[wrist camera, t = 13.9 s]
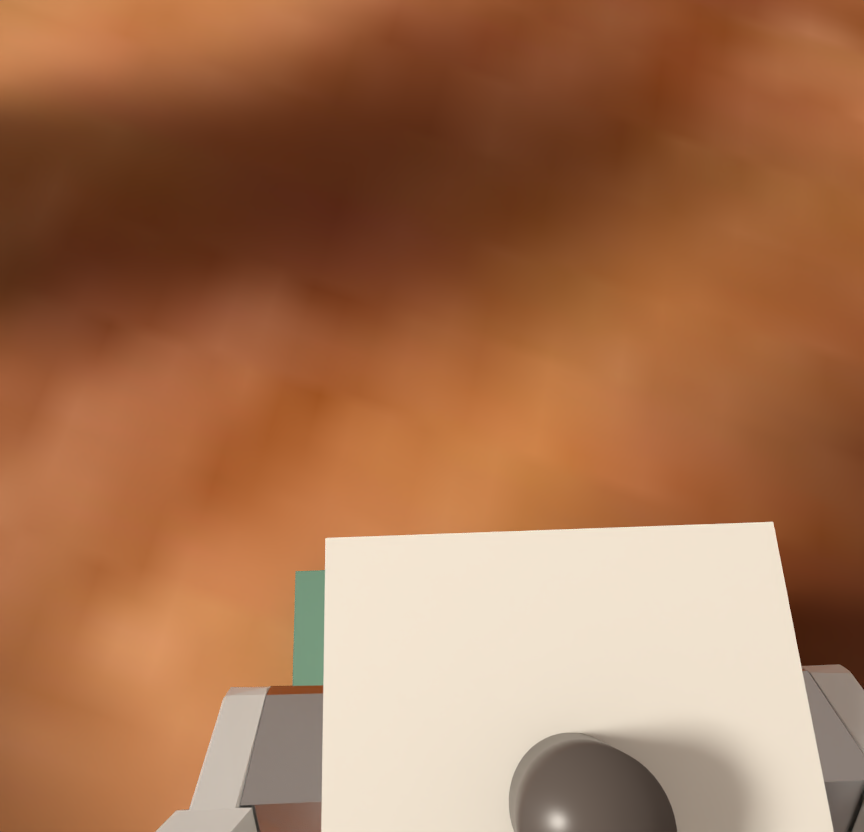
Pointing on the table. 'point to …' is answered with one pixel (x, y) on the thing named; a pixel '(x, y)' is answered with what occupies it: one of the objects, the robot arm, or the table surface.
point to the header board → (309, 628)
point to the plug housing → (565, 684)
